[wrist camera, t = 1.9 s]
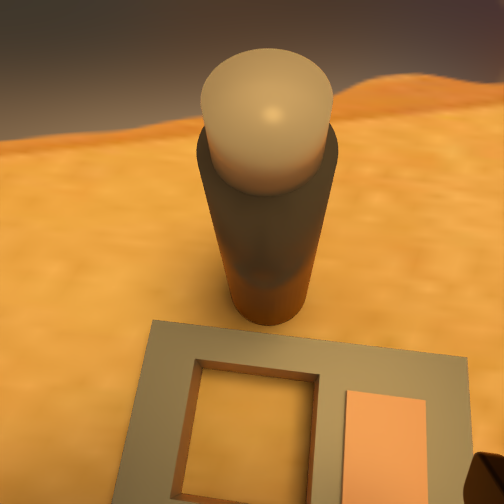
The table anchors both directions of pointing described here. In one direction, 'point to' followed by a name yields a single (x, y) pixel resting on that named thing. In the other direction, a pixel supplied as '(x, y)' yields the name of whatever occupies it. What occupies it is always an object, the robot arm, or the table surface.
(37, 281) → the table surface
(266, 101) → the grey and beige cylinder
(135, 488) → the socket plate
